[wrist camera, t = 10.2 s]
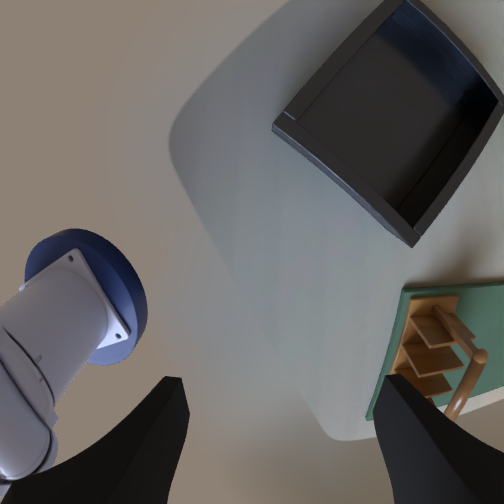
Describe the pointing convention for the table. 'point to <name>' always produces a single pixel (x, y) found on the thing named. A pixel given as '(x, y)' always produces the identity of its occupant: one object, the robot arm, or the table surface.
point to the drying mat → (478, 322)
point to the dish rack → (437, 351)
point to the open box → (396, 116)
